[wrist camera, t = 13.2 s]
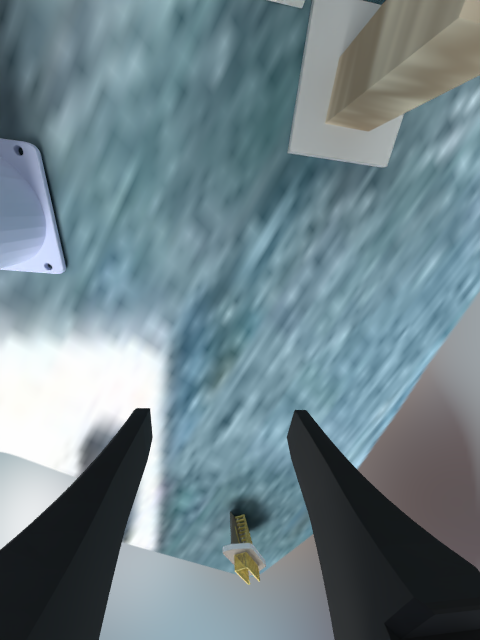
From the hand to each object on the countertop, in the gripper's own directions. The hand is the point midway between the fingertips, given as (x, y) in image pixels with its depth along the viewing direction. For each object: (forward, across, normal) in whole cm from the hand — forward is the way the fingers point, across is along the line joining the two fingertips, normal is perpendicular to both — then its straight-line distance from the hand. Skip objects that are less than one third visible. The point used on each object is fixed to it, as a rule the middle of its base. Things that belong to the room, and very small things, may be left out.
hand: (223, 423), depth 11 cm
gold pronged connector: (+11, -6, +35) cm, 37 cm away
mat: (+10, -7, -17) cm, 21 cm away
